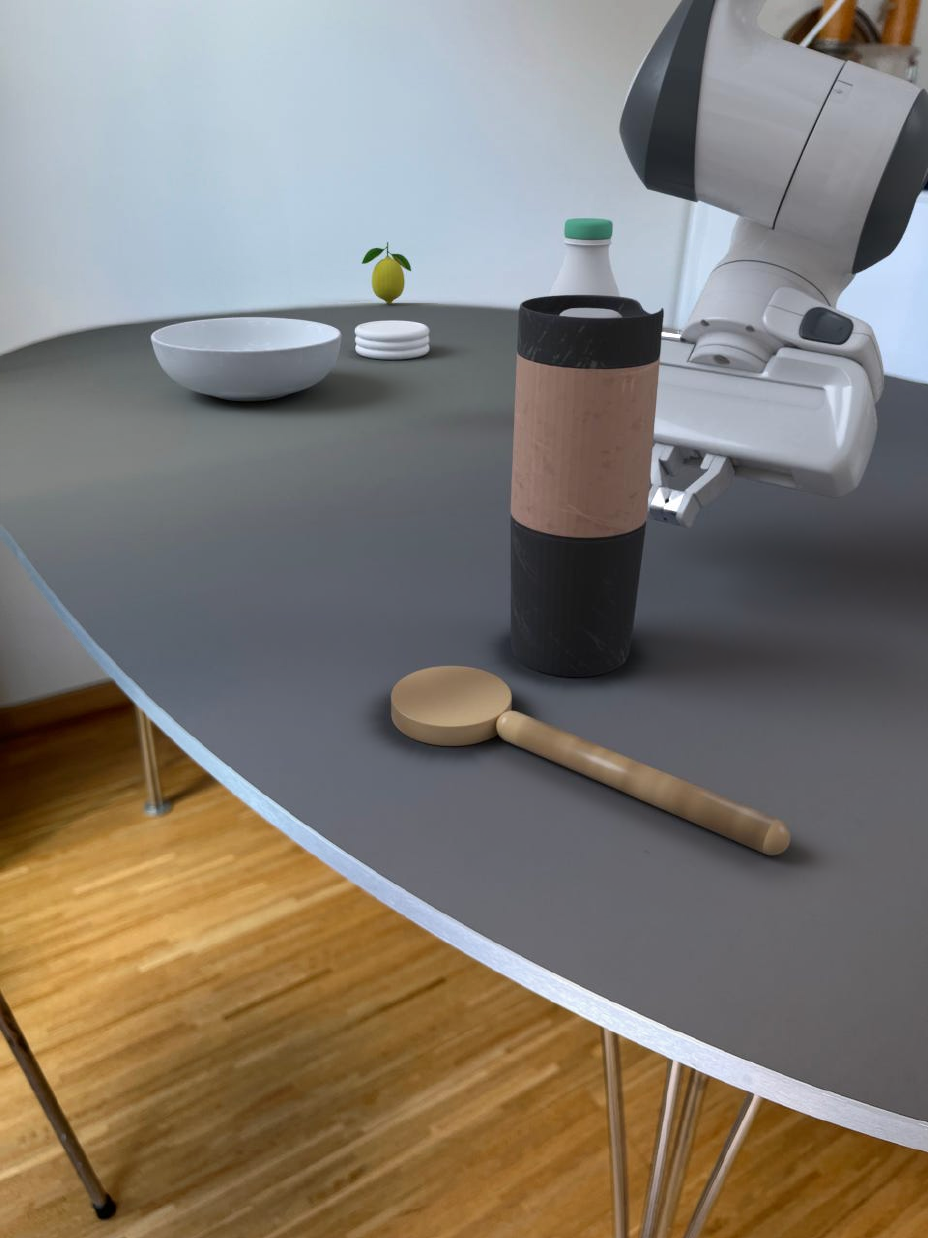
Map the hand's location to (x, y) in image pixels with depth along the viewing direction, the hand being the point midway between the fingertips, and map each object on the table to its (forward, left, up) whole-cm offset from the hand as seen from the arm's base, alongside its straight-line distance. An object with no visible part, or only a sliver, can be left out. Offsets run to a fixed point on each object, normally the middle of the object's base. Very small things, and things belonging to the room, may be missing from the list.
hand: (665, 519), depth 66 cm
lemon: (+95, -76, -6) cm, 122 cm away
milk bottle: (+28, -33, -6) cm, 44 cm away
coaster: (+67, -47, -6) cm, 82 cm away
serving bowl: (+64, -20, -6) cm, 67 cm away
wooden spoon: (-6, +20, -6) cm, 22 cm away
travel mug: (+1, +10, -6) cm, 11 cm away
